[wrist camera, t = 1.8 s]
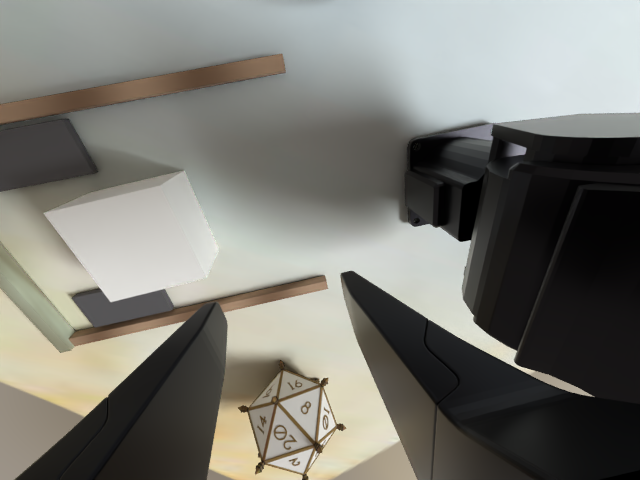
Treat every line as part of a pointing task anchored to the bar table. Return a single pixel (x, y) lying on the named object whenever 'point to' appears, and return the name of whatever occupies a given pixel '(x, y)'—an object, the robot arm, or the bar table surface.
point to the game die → (291, 422)
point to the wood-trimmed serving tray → (3, 267)
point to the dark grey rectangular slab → (56, 164)
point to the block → (139, 235)
